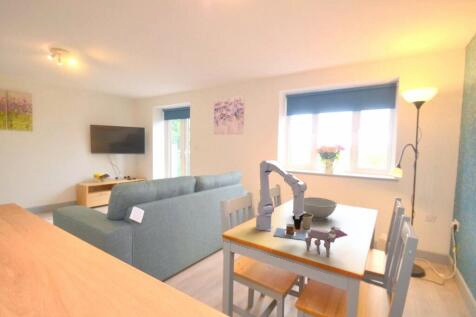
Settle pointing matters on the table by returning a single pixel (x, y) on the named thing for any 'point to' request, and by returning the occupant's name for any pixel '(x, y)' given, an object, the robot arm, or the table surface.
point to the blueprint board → (297, 235)
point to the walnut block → (289, 229)
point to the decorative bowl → (319, 207)
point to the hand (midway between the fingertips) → (297, 227)
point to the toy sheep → (323, 238)
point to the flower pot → (306, 221)
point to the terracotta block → (296, 229)
